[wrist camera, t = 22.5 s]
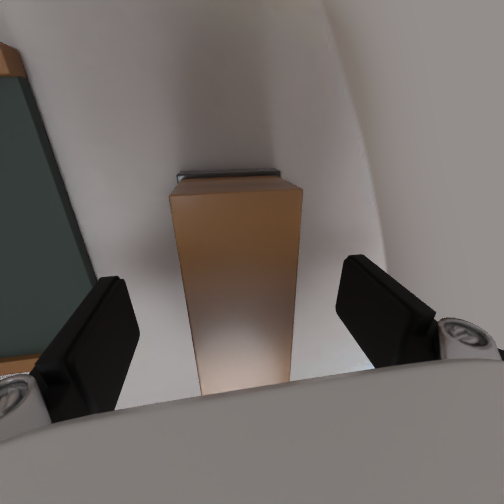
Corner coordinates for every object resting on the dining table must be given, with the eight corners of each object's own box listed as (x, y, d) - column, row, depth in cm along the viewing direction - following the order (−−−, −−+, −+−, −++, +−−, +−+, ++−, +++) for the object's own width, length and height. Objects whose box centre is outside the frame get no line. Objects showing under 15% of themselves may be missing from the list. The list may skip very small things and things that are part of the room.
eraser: (179, 171, 12) (160, 189, 8) (275, 168, 13) (309, 182, 8) (202, 335, 17) (198, 406, 12) (271, 327, 17) (292, 391, 13)
